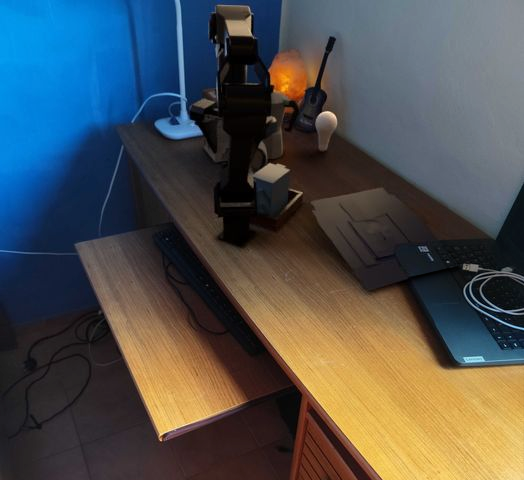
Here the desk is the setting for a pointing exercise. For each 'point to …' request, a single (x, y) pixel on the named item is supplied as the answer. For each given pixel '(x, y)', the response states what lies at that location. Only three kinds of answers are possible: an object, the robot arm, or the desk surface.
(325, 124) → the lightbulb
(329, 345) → the desk surface
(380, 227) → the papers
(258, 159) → the ceramic mug
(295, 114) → the coffeepot
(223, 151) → the coffee box
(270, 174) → the tabbed grey block
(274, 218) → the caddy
